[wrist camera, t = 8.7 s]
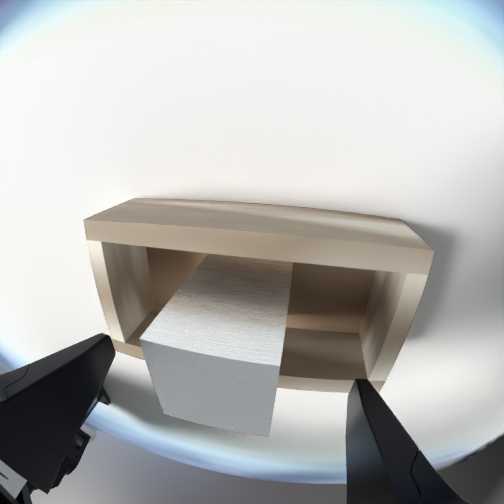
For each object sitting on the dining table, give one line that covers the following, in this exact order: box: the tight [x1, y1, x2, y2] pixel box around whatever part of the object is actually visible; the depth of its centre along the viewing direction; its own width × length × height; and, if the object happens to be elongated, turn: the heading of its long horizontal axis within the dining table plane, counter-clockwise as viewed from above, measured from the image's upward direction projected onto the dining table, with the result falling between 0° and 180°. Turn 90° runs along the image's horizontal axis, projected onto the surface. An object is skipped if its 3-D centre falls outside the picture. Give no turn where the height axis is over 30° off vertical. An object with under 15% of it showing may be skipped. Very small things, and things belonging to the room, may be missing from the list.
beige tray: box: [84, 199, 435, 393], centre depth 13 cm, size 8×15×4 cm, turn 88°
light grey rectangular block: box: [139, 253, 293, 437], centre depth 11 cm, size 4×4×8 cm
